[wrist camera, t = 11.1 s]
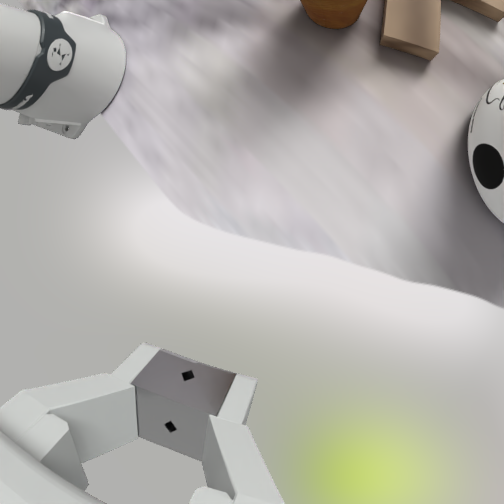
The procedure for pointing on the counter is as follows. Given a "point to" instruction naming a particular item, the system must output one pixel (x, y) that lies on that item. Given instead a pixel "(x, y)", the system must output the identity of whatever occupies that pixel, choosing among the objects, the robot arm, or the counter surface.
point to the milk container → (489, 148)
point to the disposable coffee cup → (334, 12)
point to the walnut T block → (424, 23)
